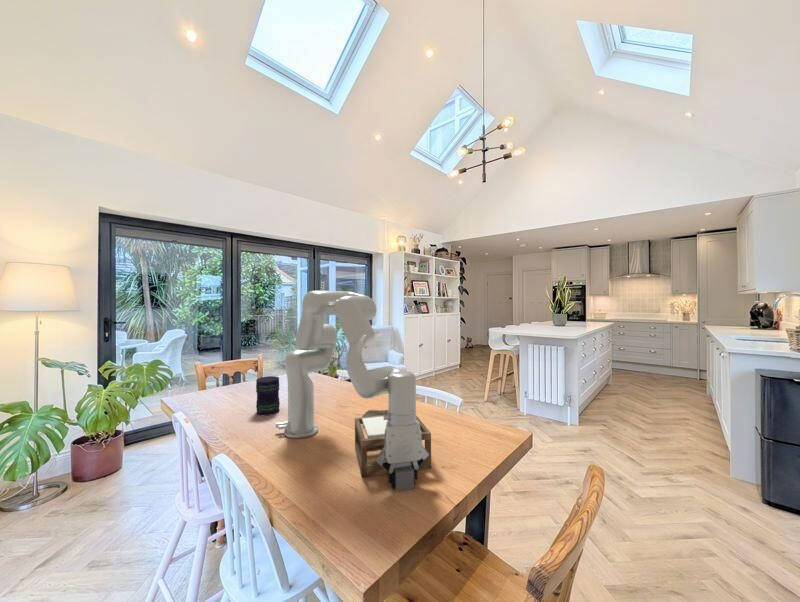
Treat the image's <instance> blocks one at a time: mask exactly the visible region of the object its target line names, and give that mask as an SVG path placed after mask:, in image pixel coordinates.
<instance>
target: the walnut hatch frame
mask: <svg viewBox="0 0 800 602" xmlns="http://www.w3.org/2000/svg"><path fill="white" fill-rule="evenodd" d="M382 416H383V415H379V416H369V417H362V416H361V417H354V449H355V454H356V459H357V463H358V467H359V471H360V474H361V478H363V479H364V478H369V477H375V476H376V477H377V476H383V475H388V471H387V470H386V469H385V468H384V467H383V466H382V465H380V464H379V463H377V462H375V463H369V464H368V450H370V449H377V448H384V437H376V438H368V437H367V438H366V437H365V434H364V431H363V428H362V425H363V422H362V418H372V417H382ZM416 420H417V421H418V422H419V424H420V430H421V438H422V441H424V448H425V450H426V451H427V452H428V453H429V455H428V457H426V458H425V459H424V460H423V462H422V463H421V464H420V466H419V468H418V470H426V469H427V470H428V469H431V468H432V433H431V431H430V430H429V429H428V428H427V426H426V425H425V423H423V421H422V420H421V419H420V418H419V417H418V416H417V415H416ZM410 464H412V463H411V462H410ZM418 470H417V471H418Z"/></svg>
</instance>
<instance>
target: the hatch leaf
mask: <svg viewBox="0 0 800 602" xmlns="http://www.w3.org/2000/svg"><path fill="white" fill-rule="evenodd" d="M387 421H388V420H384V418H383V416H382V417H372V418H362V422H363V424H362V425H363V427H364V431H365V434H366V436H367V438H376V437H384V435H385V428H386V423H387Z"/></svg>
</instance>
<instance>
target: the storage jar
mask: <svg viewBox="0 0 800 602" xmlns="http://www.w3.org/2000/svg"><path fill="white" fill-rule="evenodd" d="M255 381H256V383H255V389H256V390H255V392H256V404H255V408H256V415H257V414H258V416H262V415H265V416H272V415H275V414H277V413H279V412H280V405H281V404H280V397H279V394H280V392H279V391H280V377H278V376H275V375H274V376H273V375H272V376H271V375H270V376H269V375H268V376H263V377H259V378H257V379H256V380H255ZM278 411H279V412H278ZM271 414H272V415H271Z"/></svg>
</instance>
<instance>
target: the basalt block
mask: <svg viewBox="0 0 800 602" xmlns="http://www.w3.org/2000/svg"><path fill="white" fill-rule="evenodd" d="M394 472H395V488H394V491H395V492H402V491H408V490H409V491H410V490H414V489H415V485H414V469H413V467H412V466H411V464H410V462H406V463H399V464H395V467H394Z"/></svg>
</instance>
